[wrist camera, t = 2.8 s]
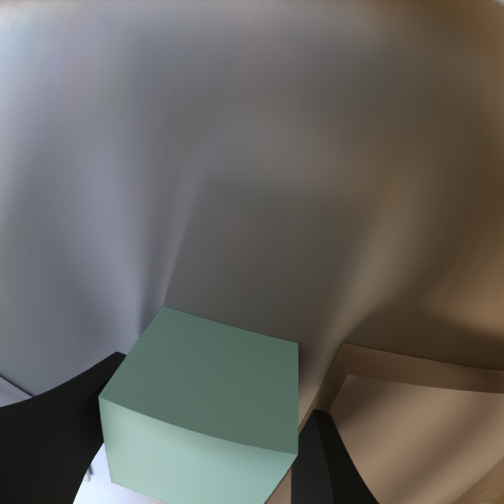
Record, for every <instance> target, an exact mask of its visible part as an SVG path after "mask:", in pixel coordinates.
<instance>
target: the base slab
mask: <svg viewBox="0 0 504 504" xmlns="http://www.w3.org/2000/svg"><path fill="white" fill-rule="evenodd" d="M313 409H316V410H322V411H326V413H327V414H331V416H332V418H333V420H334V423H335V425H336V427H337V430H338V432H339V434H340V436H341V438H342V441H343V443H344V445H345V447H346V449H347V451H348V453H349V455H350V457H351V459H352V461H353V463H354V465H355V467H356V468H357V470H358V472H359V474H360V475H361V477H362V479H363V480H364V482H365V484H366V485H367V487H368V488H369V490H370V491H371V493H372V494H373V496H374V497H375V498H376V500H377V501H378V502H379V504H452V503H453V502H455V501H456V500H457V499H458V498H459V497H461V496H462V495H463V494H464V493H465V492H466V491H468V490H469V489H470V488H471V487H472V486H473V485H474V484H475V483H477V482H478V481H479V480H480V479H481V478H482V477H483V476H484V475H485V474H486V473H487V472H488V471H489V470H490V469H491V468H492V467H493V466H494V465H495V464H496V463H497V462H498V461H499V460H500V459H501V458H502V457H503V456H504V371H500V370H493V369H485V368H478V367H471V366H465V365H458V364H452V363H446V362H440V361H434V360H428V359H423V358H417V357H412V356H406V355H401V354H396V353H391V352H386V351H381V350H376V349H371V348H366V347H361V346H357V345H352V344H347V343H343V342H342V344H341V346H340V348H339V350H338V353H337V355H336V357H335V359H334V361H333V363H332V365H331V367H330V369H329V371H328V373H327V375H326V377H325V379H324V381H323V383H322V385H321V387H320V389H319V391H318V393H317V395H316V397H315V399H314V401H313V402H312V404H311V406H310V408H309V410H308V412H307V414H306V415H305V417H304V419H303V421H302V423H301V424H300V426H299V428H298V435H299V433H300V432H301V430H302V428H303V427H304V425H305V423H306V421H307V420H308V418H309V416H310V414H311V413H312V411H313ZM264 504H291V466H290V467H289V469H288V470H287V472H286V473H285V475H284V476H283V478H282V479H281V480H280V482H279V483H278V485H277V486H276V488H275V489H274V490H273V492H272V493H271V494H270V496H269V497H268V499H267V500H266V501H265V503H264Z"/></svg>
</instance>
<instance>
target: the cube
mask: <svg viewBox="0 0 504 504" xmlns="http://www.w3.org/2000/svg"><path fill="white" fill-rule="evenodd" d="M98 397H99V407H100V415H101V423H102V430H103V437H104V444H105V450H106V456H107V461H108V467H109V472H110V477H111V482H113V483H115V484H117V485H120V486H122V487H125V488H127V489H130V490H132V491H135V492H138V493H140V494H143V495H146V496H149V497H152V498H155V499H158V500H161V501H164V502H167V503H170V504H264V503H265V501H266V500H267V499H268V497H269V496H270V494H271V493H272V492H273V490H274V489H275V488H276V486H277V485H278V483H279V482H280V480H281V479H282V478H283V476H284V475H285V473H286V472H287V470H288V469H289V467H290V466H291V464H292V463H293V461H294V460H295V458H296V457H297V455H298V400H299V390H298V343H294V342H290V341H286V340H282V339H278V338H274V337H270V336H266V335H262V334H258V333H254V332H251V331H247V330H243V329H239V328H236V327H232V326H229V325H225V324H222V323H218V322H215V321H211V320H208V319H204V318H201V317H197V316H194V315H191V314H187V313H184V312H181V311H178V310H174V309H171V308H168V307H165V306H162V308H161V309H160V311H159V312H158V313H157V315H156V316H155V317H154V319H153V320H152V321H151V323H150V324H149V326H148V327H147V328H146V330H145V331H144V332H143V334H142V335H141V337H140V338H139V339H138V341H137V342H136V344H135V345H134V346H133V348H132V349H131V351H130V352H129V353H128V355H127V356H126V358H125V359H124V360H123V362H122V363H121V365H120V366H119V368H118V369H117V370H116V372H115V373H114V375H113V376H112V378H111V379H110V380H109V382H108V383H107V385H106V386H105V388H104V389H103V391H102V392H101V393H100V395H99V396H98Z"/></svg>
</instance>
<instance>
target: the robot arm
mask: <svg viewBox="0 0 504 504" xmlns="http://www.w3.org/2000/svg"><path fill="white" fill-rule="evenodd" d="M126 356H127V355H125V354H122V353H120V352H115V353H113V354H111V355H110V356H108V357H107V358H105V359H104V360H102V361H101V362H99V363H97V364H96V365H94V366H93V367H91V368H89V369H88V370H86V371H84V372H83V373H81V374H79V375H78V376H76V377H74V378H72V379H71V380H69V381H67V382H65V383H63V384H61V385H59V386H57V387H55V388H53V389H51V390H49V391H47V392H44V393H42V394H40V395H37V396H35V397H31V396H29V395H28V394H26V393H25V392H23V391H21V390H20V389H18V388H17V387H15V386H13V385H12V384H10V383H9V382H7V381H6V380H4V379H3V378H1V377H0V504H73V502H74V499H75V497H76V495H77V492H78V490H79V487H80V485H81V483H82V481H83V480H84V481H86V482H90V480H91V476H90V473H89V469H88V468H89V466H90V464H91V462H92V460H93V459H94V457H95V455H96V454H97V452H98V451H99V449H100V448H101V446H102V444H103V443H104V437H103V430H102V423H101V415H100V407H99V397H98V396H99V395H100V393H101V392H102V391H103V389H104V388H105V386H106V385H107V383H108V382H109V380H110V379H111V378H112V376H113V375H114V373H115V372H116V370H117V369H118V368H119V366H120V365H121V363H122V362H123V360H124V359H125V358H126ZM291 504H379V502H378V501H377V500H376V498H375V497H374V496H373V494H372V493H371V491H370V490H369V488H368V487H367V485H366V484H365V482H364V480H363V479H362V477H361V475H360V474H359V472H358V470H357V468H356V467H355V465H354V463H353V461H352V459H351V457H350V455H349V453H348V451H347V449H346V447H345V445H344V443H343V441H342V438H341V436H340V434H339V432H338V430H337V427H336V425H335V423H334V420H333V418H332V416H331V414H327V413H326V411H322V410H316V409H313V411H312V413H311V414H310V416H309V418H308V420H307V421H306V423H305V425H304V427H303V428H302V430H301V432H300V433H299V435H298V455H297V457H296V458H295V460H294V461H293V463H292V464H291Z"/></svg>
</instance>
